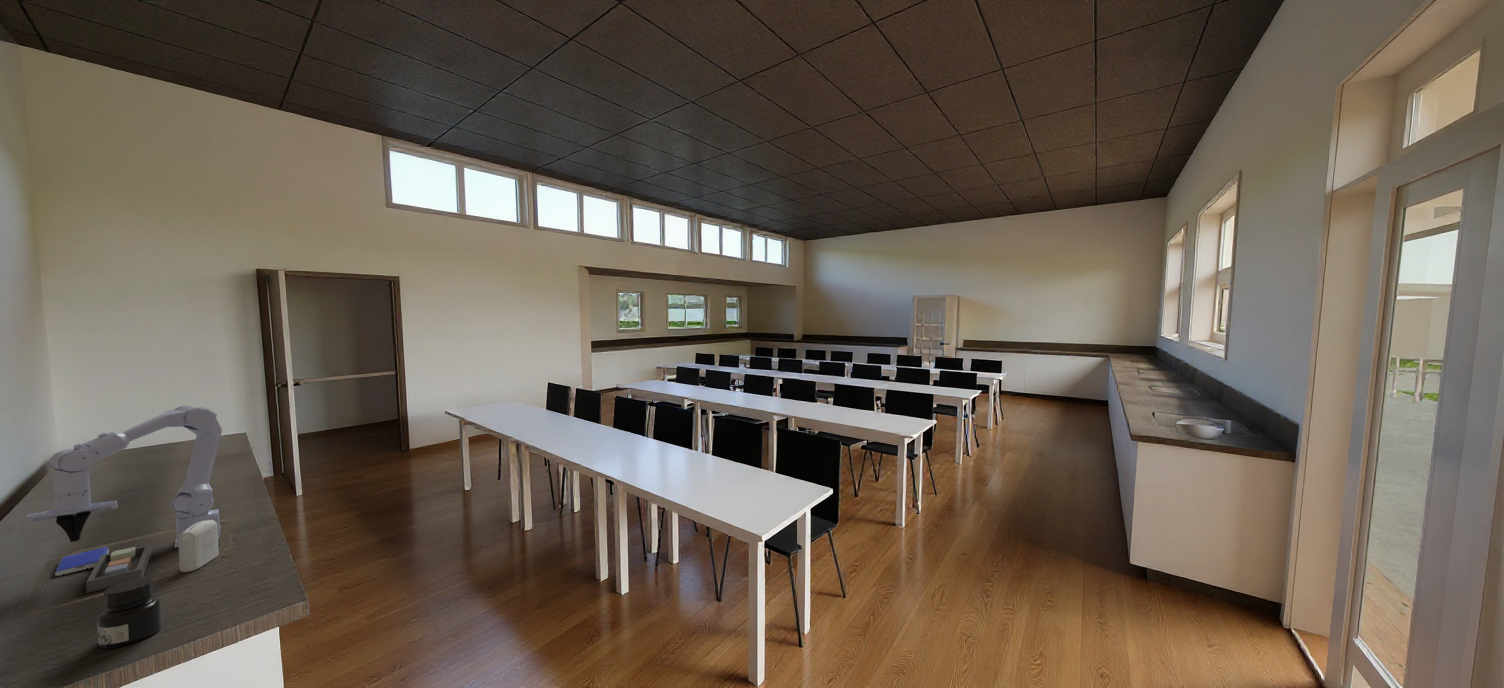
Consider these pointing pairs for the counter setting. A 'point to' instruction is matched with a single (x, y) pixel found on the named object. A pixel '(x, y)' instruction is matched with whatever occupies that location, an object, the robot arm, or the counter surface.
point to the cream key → (133, 551)
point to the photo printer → (198, 545)
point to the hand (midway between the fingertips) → (75, 540)
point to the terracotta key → (120, 562)
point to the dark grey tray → (135, 572)
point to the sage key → (121, 554)
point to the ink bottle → (129, 613)
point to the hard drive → (80, 561)
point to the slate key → (116, 569)
